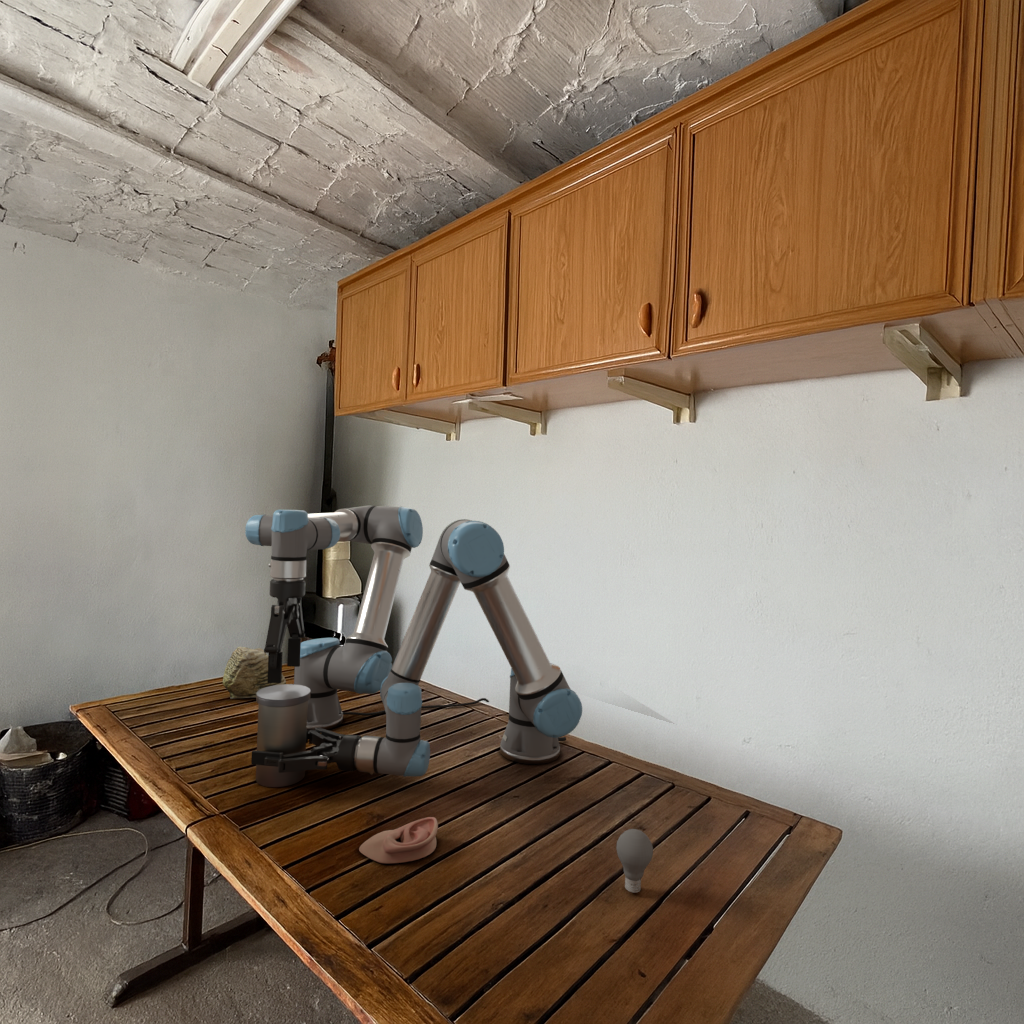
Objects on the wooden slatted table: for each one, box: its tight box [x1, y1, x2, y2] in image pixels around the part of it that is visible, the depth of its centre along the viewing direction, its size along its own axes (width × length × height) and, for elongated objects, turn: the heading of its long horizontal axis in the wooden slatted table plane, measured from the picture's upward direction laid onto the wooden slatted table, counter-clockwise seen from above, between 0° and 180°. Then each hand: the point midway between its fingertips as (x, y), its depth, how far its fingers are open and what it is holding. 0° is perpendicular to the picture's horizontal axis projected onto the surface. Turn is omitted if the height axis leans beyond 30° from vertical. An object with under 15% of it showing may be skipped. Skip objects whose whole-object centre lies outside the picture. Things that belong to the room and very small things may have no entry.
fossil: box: [222, 646, 287, 699], centre depth 198 cm, size 9×18×15 cm, turn 132°
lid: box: [255, 683, 310, 707], centre depth 142 cm, size 11×11×2 cm
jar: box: [255, 701, 308, 788], centre depth 142 cm, size 10×10×19 cm
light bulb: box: [615, 828, 654, 894], centre depth 106 cm, size 6×6×10 cm
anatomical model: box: [358, 816, 439, 864], centre depth 116 cm, size 13×4×12 cm
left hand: (284, 674), depth 142 cm, fingers open, 12 cm apart
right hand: (267, 745), depth 142 cm, fingers open, 12 cm apart
